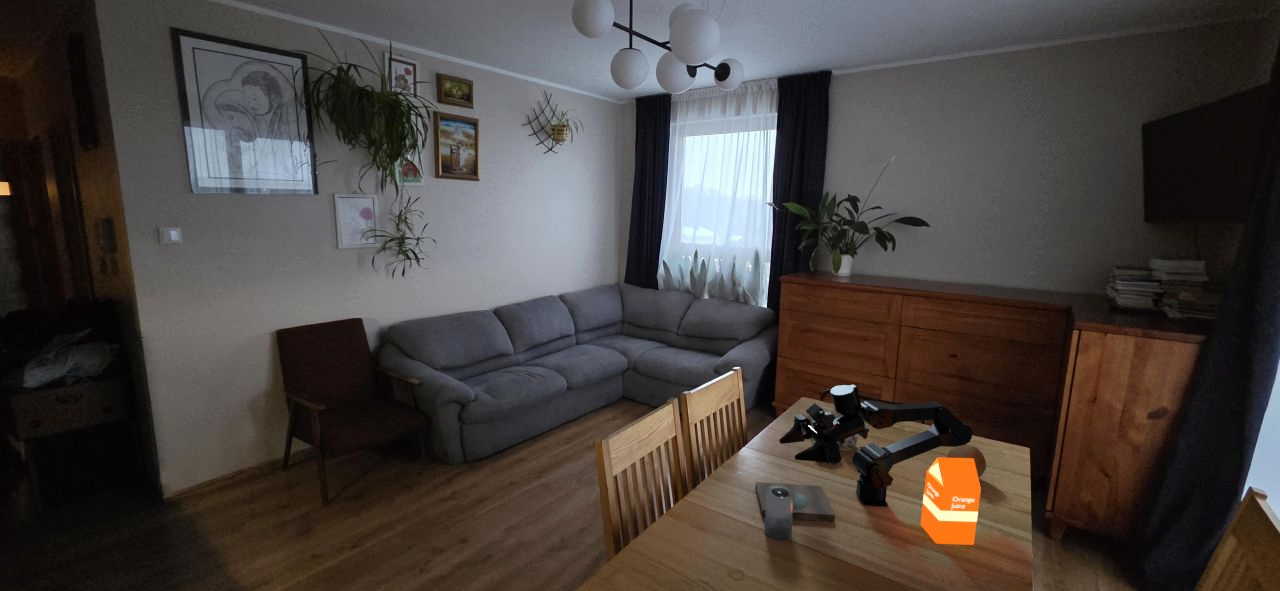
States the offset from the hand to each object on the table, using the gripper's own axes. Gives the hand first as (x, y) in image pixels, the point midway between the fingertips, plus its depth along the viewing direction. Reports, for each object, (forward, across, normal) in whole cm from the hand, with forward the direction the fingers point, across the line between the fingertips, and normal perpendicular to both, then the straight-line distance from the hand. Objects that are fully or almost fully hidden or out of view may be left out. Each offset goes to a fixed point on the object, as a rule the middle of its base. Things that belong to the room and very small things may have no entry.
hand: (787, 449), depth 134 cm
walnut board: (+3, -1, +16) cm, 16 cm away
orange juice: (-27, +17, +27) cm, 42 cm away
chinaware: (-25, -34, +26) cm, 49 cm away
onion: (-52, -7, +36) cm, 63 cm away
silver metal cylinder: (+11, +10, +13) cm, 20 cm away
